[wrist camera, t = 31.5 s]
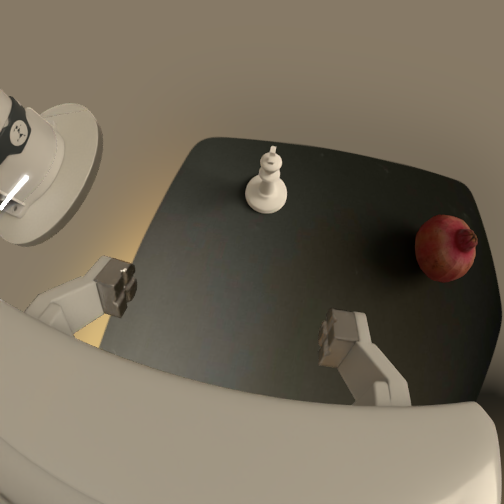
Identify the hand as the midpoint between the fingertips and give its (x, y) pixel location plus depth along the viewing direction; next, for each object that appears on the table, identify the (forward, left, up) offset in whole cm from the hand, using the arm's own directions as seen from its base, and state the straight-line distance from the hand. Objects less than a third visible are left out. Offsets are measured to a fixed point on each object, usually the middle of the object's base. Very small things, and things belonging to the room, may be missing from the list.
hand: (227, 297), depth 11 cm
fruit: (+23, +8, -20) cm, 32 cm away
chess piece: (+2, +13, -20) cm, 24 cm away
